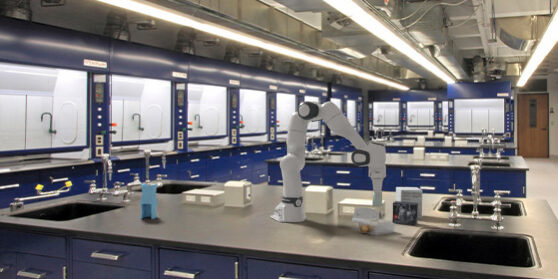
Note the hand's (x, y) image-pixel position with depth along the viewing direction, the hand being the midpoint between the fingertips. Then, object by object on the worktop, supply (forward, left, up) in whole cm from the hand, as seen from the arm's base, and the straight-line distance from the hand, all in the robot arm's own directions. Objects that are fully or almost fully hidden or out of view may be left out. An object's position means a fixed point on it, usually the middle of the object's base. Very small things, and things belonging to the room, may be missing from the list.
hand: (377, 199), depth 239 cm
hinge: (-18, +11, -18) cm, 28 cm away
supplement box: (-18, +46, -17) cm, 52 cm away
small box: (-6, +29, -17) cm, 34 cm away
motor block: (0, -2, -17) cm, 17 cm away
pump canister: (0, 0, -3) cm, 3 cm away
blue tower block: (-98, -90, -17) cm, 134 cm away
